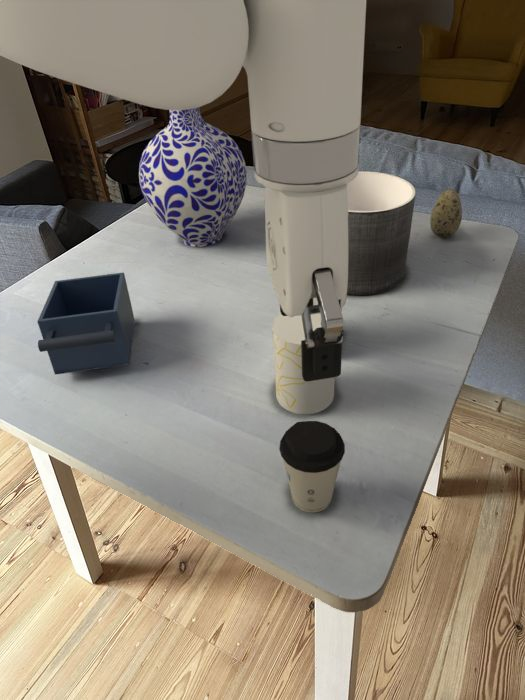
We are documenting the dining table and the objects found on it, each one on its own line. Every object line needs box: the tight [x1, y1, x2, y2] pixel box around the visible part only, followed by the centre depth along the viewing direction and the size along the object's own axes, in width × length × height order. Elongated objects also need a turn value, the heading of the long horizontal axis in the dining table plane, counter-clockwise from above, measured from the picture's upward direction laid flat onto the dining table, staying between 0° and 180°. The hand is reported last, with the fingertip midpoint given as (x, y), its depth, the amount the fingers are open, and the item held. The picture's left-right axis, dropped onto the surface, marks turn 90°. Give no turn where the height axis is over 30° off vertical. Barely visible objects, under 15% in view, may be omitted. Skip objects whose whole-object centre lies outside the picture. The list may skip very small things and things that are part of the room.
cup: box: [272, 313, 336, 415], centre depth 72 cm, size 8×8×12 cm
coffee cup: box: [278, 420, 346, 514], centre depth 59 cm, size 7×7×10 cm
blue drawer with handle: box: [36, 271, 136, 375], centre depth 81 cm, size 18×11×9 cm, turn 9°
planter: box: [347, 171, 417, 296], centre depth 96 cm, size 18×18×16 cm
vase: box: [138, 107, 248, 248], centre depth 107 cm, size 22×22×30 cm
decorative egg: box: [429, 188, 463, 239], centre depth 107 cm, size 6×6×10 cm
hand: (308, 342), depth 49 cm, fingers open, 9 cm apart
